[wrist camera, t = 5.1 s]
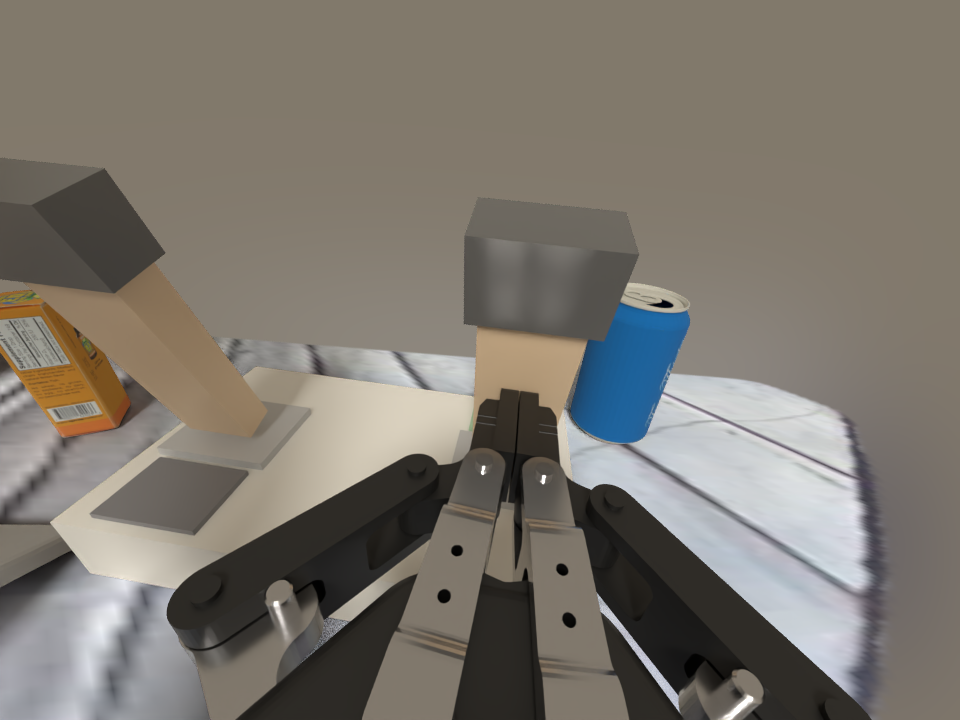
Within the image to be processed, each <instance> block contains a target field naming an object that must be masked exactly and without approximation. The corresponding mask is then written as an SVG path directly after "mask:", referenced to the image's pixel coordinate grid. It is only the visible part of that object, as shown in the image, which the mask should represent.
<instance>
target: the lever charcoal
mask: <svg viewBox="0 0 960 720" xmlns="http://www.w3.org/2000/svg"><path fill="white" fill-rule="evenodd" d="M164 254H165V252H164V250H163V249H162V247H161V246H160V245H159V243H158V242H157V240H156V239H155V238H154V236H153V235H152V234H151V232H150V231H149V230H148V228H147V227H146V225H145V224H144V222H143V221H142V220H141V218H140V217H139V216H138V214H137V213H136V211H135V210H134V209H133V207H132V206H131V204H130V203H129V202H128V200H127V199H126V198H125V196H124V195H123V193H122V192H121V191H120V189H119V188H118V186H117V185H116V184H115V182H114V181H113V180H112V178H111V177H110V176H109V174H108V173H107V171H106V170H105V168H95V167H85V166H75V165H65V164H56V163H46V162H35V161H26V160H16V159H6V158H0V279H3V280H10V281H19V282H23V283H24V284H25V285H27V286H28V287H29V288H30V289H31V290H32V291H33V292H35V293H36V294H37V295H38V296H39V297H40V298H41V299H43V300H44V301H45V302H46V303H47V304H48V305H50V306H51V307H52V308H53V309H54V310H55V311H56V312H58V313H59V314H60V315H61V316H62V317H63V318H64V319H66V320H67V321H68V322H69V323H70V324H71V325H72V326H74V327H75V328H76V329H77V330H78V331H79V332H81V333H82V334H83V335H84V336H85V337H86V338H87V339H89V340H90V341H91V342H92V343H93V344H94V345H95V346H97V347H98V348H99V349H100V350H101V351H102V352H103V353H105V354H106V355H107V356H108V357H109V358H110V359H111V360H113V361H114V362H115V363H116V364H117V365H118V366H120V367H121V368H122V369H123V370H124V371H125V372H126V373H128V374H129V375H130V376H131V377H132V378H133V379H134V380H136V381H137V382H138V383H139V384H140V385H141V386H142V387H144V388H145V389H146V390H147V391H148V392H149V393H151V394H152V395H153V396H154V397H155V398H156V399H157V400H159V401H160V402H161V403H162V404H163V405H164V406H165V407H167V408H168V409H169V410H170V411H171V412H172V413H173V414H175V415H176V416H177V417H178V418H179V419H180V420H181V421H183V422H184V423H185V424H186V425H187V426H188V427H190V428H191V429H197V430H203V431H210V432H216V433H223V434H229V435H236V436H243V437H249V438H251V437H252V436H253V434H254V432H255V431H256V429H257V428H258V426H259V424H260V423H261V421H262V419H263V418H264V416H265V415H266V413H267V411H268V410H267V409H266V407H265V406H264V405H263V404H262V402H261V401H260V400H259V398H258V397H257V396H256V394H255V393H254V392H253V390H252V389H251V388H250V387H249V385H248V384H247V383H246V381H245V380H244V379H243V377H242V376H241V375H240V374H239V372H238V371H237V370H236V368H235V367H234V366H233V364H232V363H231V362H230V360H229V359H228V358H227V357H226V355H225V354H224V353H223V351H222V350H221V349H220V347H219V346H218V345H217V344H216V342H215V341H214V340H213V338H212V337H211V336H210V335H209V333H208V332H207V330H206V329H205V328H204V327H203V325H202V324H201V323H200V321H199V320H198V319H197V317H196V316H195V315H194V314H193V312H192V311H191V310H190V308H189V307H188V306H187V304H186V303H185V302H184V301H183V299H182V298H181V297H180V295H179V294H178V293H177V291H176V290H175V289H174V287H173V286H172V285H171V284H170V282H169V281H168V280H167V278H166V277H165V276H164V275H163V273H162V272H161V271H160V269H159V268H158V267H157V265H156V264H155V263H154V262H155V261H156V260H157V259H159V258H160V257H161V256H162V255H164Z"/></svg>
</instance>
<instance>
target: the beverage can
mask: <svg viewBox="0 0 960 720" xmlns="http://www.w3.org/2000/svg"><path fill="white" fill-rule="evenodd" d="M689 306H690V302H689V301H688V300H687V299H686V298H684V297H682V296H681V295H679V294H677V293H674V292H672V291H669V290H665V289H662V288H659V287H654V286H650V285H644V284H637V283H628V284H627V286H626V288H625V291H624V293H623V296H622V298H621V301H620V303H619V306H618V308H617V311H616V313H615V316H614V318H613V321H612V323H611V326H610V328H609V331H608V333H607V336H606V338H605V341H596V340H588V342H587V346H586V350H585V354H584V358H583V361H582V365H581V369H580V373H579V377H578V381H577V385H576V389H575V393H574V397H573V401H572V405H571V416H572V418H573V420H574V421H575V423H576V424H577V425H578V426H579V427H580V428H581V429H582V430H583V431H584V432H585V433H586V434H588V435H589V436H591V437H592V438H594V439H596V440H599V441H601V442H605V443H609V444H628V443H634V442H637V441H639V440H641V439H642V438H643V437H644V436H645V435H646V433H647V431H648V428H649V425H650V423H651V420H652V418H653V415H654V413H655V410H656V408H657V405H658V403H659V400H660V398H661V395H662V393H663V390H664V388H665V385H666V383H667V380H668V378H669V375H670V373H671V370H672V368H673V365H674V363H675V360H676V358H677V355H678V353H679V350H680V348H681V345H682V343H683V340H684V338H685V335H686V333H687V330H688V327H689V325H690V318H689V315H688V312H687V310H688V308H689Z"/></svg>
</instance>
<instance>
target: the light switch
mask: <svg viewBox="0 0 960 720" xmlns="http://www.w3.org/2000/svg"><path fill="white" fill-rule="evenodd" d="M69 551H71V548H70V547H69V546H68V545H67V543H66V542H65V541H64V539H63V538H62V537H61V536H60V534H59V533H58V532H57V531H56V529H55V528H54V527H53V526H52V525H6V524H0V587H2V586H4V585H6V584H8V583H9V582H11V581H13V580H15V579H17V578H19V577H21V576H23V575H25V574H27V573H29V572H31V571H32V570H34V569H36V568H38V567H40V566H42V565H44V564H46V563H48V562H50V561H52V560H53V559H55V558H57V557H59V556H61V555H63V554H65V553H67V552H69Z"/></svg>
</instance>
